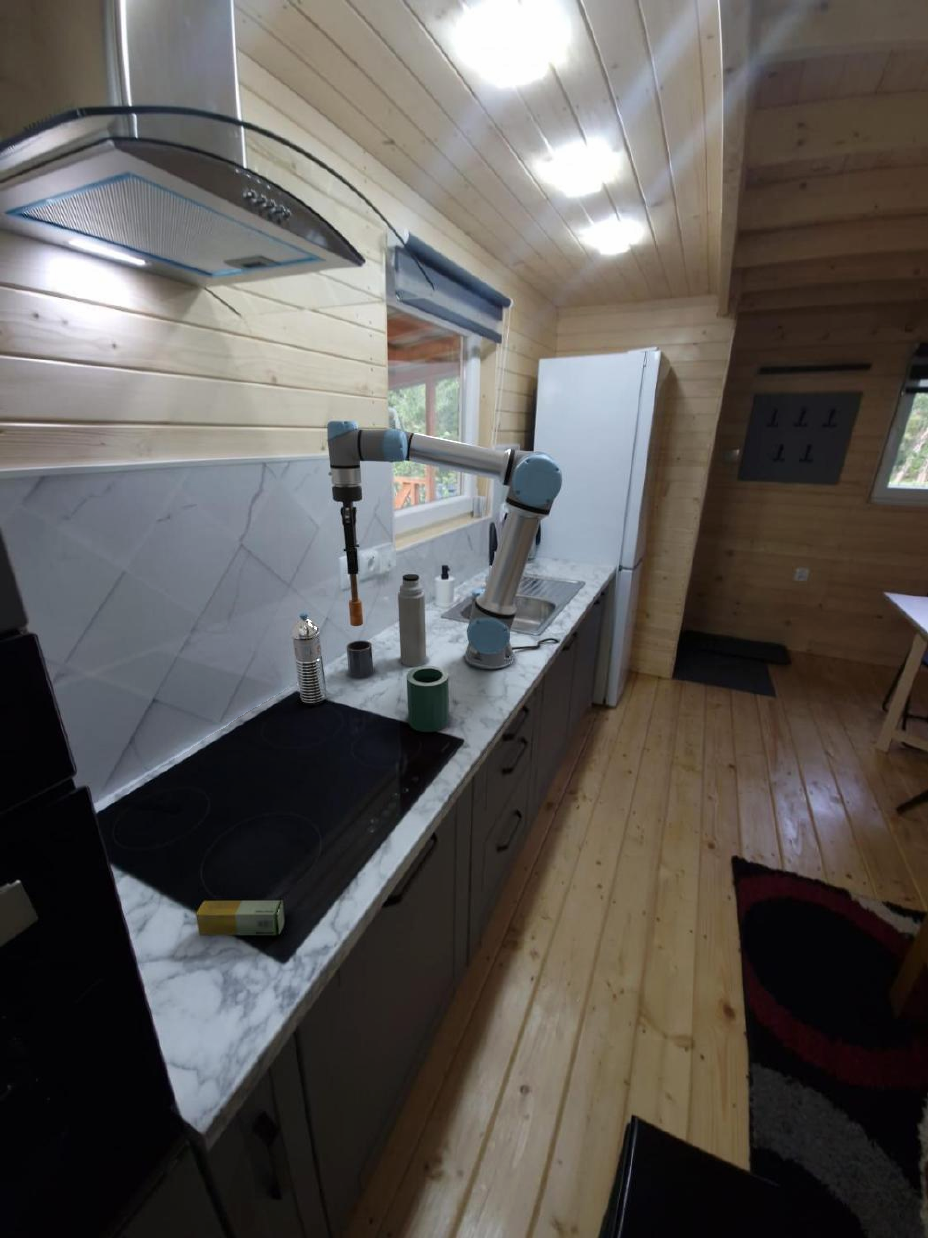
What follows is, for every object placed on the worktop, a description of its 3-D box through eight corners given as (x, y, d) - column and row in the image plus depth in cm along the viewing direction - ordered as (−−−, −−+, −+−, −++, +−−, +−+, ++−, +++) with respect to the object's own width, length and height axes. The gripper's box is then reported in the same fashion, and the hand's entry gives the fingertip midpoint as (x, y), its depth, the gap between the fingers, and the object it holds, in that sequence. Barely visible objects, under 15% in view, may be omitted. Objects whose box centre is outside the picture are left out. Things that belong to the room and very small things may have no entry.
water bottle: (319, 708, 131) (309, 620, 121) (296, 705, 132) (283, 618, 122) (331, 694, 137) (322, 610, 127) (308, 692, 138) (297, 608, 128)
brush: (363, 621, 144) (357, 536, 135) (363, 626, 141) (356, 539, 132) (350, 621, 144) (343, 536, 134) (350, 626, 141) (342, 539, 131)
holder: (373, 666, 153) (371, 639, 149) (373, 677, 146) (371, 650, 142) (349, 667, 152) (347, 641, 148) (348, 679, 145) (345, 651, 141)
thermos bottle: (398, 656, 159) (394, 573, 148) (422, 653, 161) (420, 570, 150) (403, 667, 152) (399, 580, 141) (428, 664, 154) (427, 578, 144)
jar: (446, 708, 131) (445, 664, 126) (450, 730, 122) (450, 684, 117) (407, 711, 130) (405, 667, 125) (409, 733, 120) (407, 687, 115)
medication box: (286, 920, 76) (284, 899, 75) (280, 936, 73) (278, 914, 72) (206, 920, 75) (203, 899, 74) (197, 936, 73) (194, 915, 71)
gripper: (334, 481, 134) (341, 565, 143) (328, 488, 120) (337, 581, 129) (362, 481, 135) (367, 564, 144) (360, 488, 121) (366, 580, 130)
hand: (353, 572), depth 137 cm, fingers closed on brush, 2 cm apart
